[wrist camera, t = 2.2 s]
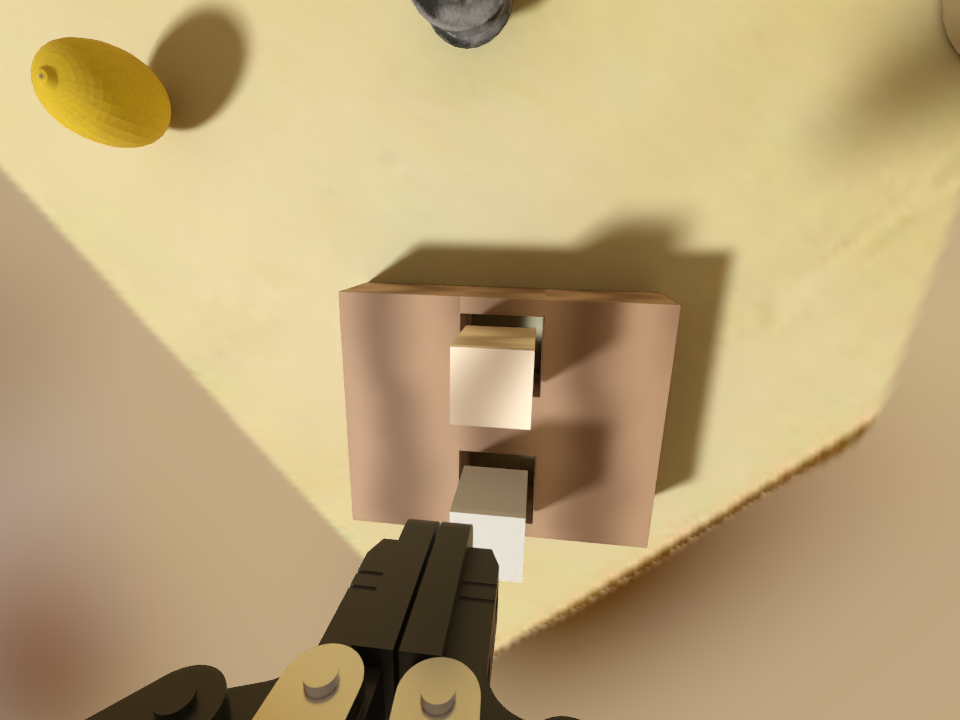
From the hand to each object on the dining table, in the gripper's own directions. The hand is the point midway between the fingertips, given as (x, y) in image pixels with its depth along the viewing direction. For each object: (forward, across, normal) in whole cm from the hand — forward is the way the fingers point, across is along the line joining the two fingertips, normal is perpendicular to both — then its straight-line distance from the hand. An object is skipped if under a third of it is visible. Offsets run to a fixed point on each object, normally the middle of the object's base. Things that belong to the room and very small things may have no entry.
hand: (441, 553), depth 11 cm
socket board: (+23, 0, +4) cm, 23 cm away
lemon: (+23, +24, -14) cm, 36 cm away
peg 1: (+17, 0, 0) cm, 17 cm away
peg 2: (+17, 0, +9) cm, 19 cm away
